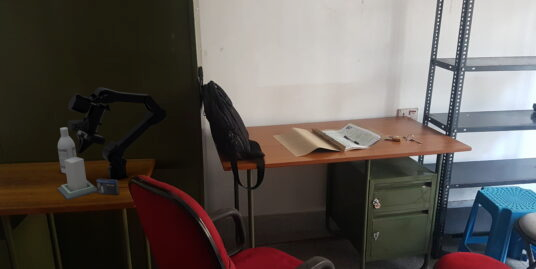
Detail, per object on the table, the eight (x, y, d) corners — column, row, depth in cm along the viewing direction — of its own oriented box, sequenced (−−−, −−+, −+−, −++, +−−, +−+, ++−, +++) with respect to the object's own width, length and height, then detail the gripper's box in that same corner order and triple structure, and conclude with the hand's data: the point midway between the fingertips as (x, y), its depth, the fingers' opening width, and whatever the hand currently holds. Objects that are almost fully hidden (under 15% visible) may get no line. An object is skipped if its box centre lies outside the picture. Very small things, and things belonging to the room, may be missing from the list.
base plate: (87, 181, 181) (87, 177, 181) (98, 191, 173) (98, 186, 172) (57, 189, 174) (57, 185, 173) (67, 200, 165) (66, 195, 165)
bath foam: (74, 166, 197) (69, 124, 191) (80, 171, 192) (74, 128, 186) (59, 170, 192) (52, 127, 186) (64, 175, 188) (58, 131, 181)
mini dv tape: (97, 193, 171) (96, 179, 169) (100, 192, 172) (98, 178, 170) (117, 195, 170) (115, 181, 168) (119, 193, 171) (117, 180, 169)
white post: (79, 185, 176) (75, 156, 172) (87, 188, 174) (83, 159, 170) (68, 189, 172) (64, 160, 168) (76, 192, 170) (71, 163, 166)
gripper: (65, 105, 173) (50, 141, 173) (86, 118, 162) (70, 156, 161) (90, 113, 182) (75, 147, 182) (112, 125, 170) (97, 162, 170)
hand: (79, 153), depth 174 cm, fingers closed
